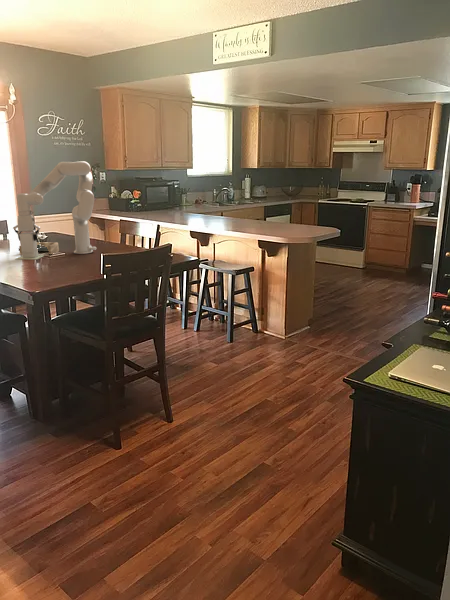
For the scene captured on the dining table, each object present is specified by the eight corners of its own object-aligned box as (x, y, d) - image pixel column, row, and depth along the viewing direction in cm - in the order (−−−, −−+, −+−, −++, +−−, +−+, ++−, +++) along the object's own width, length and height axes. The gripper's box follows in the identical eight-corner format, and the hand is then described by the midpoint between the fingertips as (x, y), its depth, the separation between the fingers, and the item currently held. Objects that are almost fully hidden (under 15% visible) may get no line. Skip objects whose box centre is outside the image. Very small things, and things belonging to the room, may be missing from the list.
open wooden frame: (58, 251, 344) (58, 242, 342) (51, 255, 330) (50, 246, 328) (29, 251, 344) (28, 242, 343) (20, 254, 331) (19, 246, 329)
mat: (44, 255, 327) (44, 255, 327) (37, 259, 316) (37, 258, 316) (23, 255, 328) (23, 255, 328) (15, 259, 316) (15, 258, 316)
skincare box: (38, 256, 325) (36, 232, 321) (34, 258, 319) (31, 233, 314) (26, 255, 325) (23, 232, 321) (21, 257, 319) (18, 233, 315)
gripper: (40, 212, 317) (43, 239, 322) (14, 212, 318) (17, 239, 323) (36, 214, 310) (39, 241, 315) (8, 214, 311) (12, 241, 315)
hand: (28, 240), depth 319 cm, fingers open, 9 cm apart
